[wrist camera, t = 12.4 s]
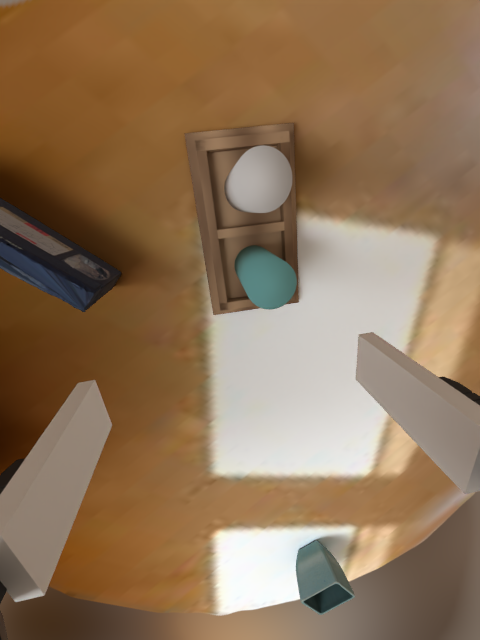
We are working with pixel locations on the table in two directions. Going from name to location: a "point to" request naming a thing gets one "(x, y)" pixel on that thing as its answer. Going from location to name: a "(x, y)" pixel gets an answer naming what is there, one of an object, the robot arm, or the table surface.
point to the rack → (230, 224)
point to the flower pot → (321, 579)
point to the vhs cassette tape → (51, 260)
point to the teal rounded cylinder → (265, 277)
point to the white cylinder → (259, 181)
